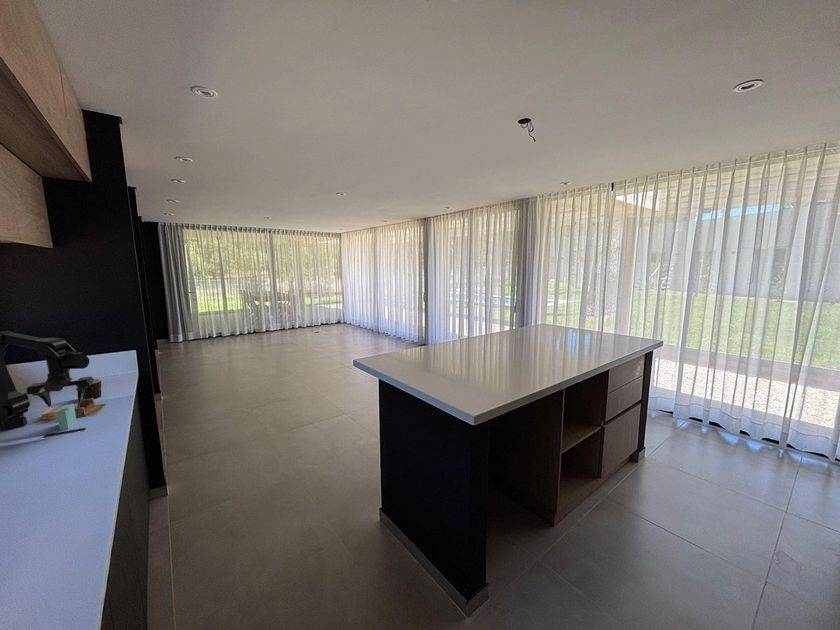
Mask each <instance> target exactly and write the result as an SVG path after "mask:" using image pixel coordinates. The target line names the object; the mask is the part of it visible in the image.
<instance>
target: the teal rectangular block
mask: <svg viewBox="0 0 840 630" xmlns="http://www.w3.org/2000/svg"><path fill="white" fill-rule="evenodd" d="M63 406H64V407H62V408H61V409H60V410H59V411H58V412H57V416H58V421H57V422H58V426H59V430H60V431H63V432H66V431H67V430H69V429H70V428H71V427H72V426H73V425H74V424H75V423H76V422H77V420H78V419H77V418H76V415H75V409H74V408H75V405H74V403H69V404H65V405H63Z"/></svg>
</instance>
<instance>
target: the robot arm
mask: <svg viewBox="0 0 840 630" xmlns="http://www.w3.org/2000/svg"><path fill="white" fill-rule="evenodd" d="M8 345H13V346H19V347H24V348H29V349H32V350H35V351H36V353H40V354H41V355H42V356H41V357H40V358H39V360H41V361H46V366H47V371H48V373H47V375H46V376H47V379H46V380H45V381H44V382H43V381H42V382H38V383H37V382H36V383H35V382H34V383H33V384H31V385H29V386H27V387H26V392H25V393H21V392H20V391H18V390H17V388H16V385H15V383H14V381H13V379H12V377H11V374H10V372H9V370H8V368H7V366H6V363H5V360H4V358H5V354H6V347H7V346H8ZM89 365H90V358H89V357H88V356H87V355H85V354H84V352H83V351H82V352H81V351H80V352H77V351H76V349H74V348H73V347H72V346H71V345H70V344H69V343H68V342H67V341H66V339H64V338H61V337H60V338H59V337H46V338H45V337H44V338H43V337H42V338H41V337H37V336H32V335H27V334H23V333H18V332H14V331H11V330H7V331H2V332H0V431H12V430H16V429H18V428H19V429H20V428H23V427H25V426H27V424H28V419H27V416H25V413H28V412H29V407H30V406H31V400H30V398H29V396H28V395H32V396H37V397H38V398H40V399H41V400H42V401H43V402H44V403H45V404H46V405H47V406H48V408H51V407H52V399H51V394H50V393H51V392H60V391H62V390H63V388H65V387H72V386H76V389H75V390H76V391H77V401H79V402H81V400H83V398H82V397H83V394H84V391H85V389H86V388H87V387H88V386H90V385H91V384H92V383H93V382H94V379H95V378H94V377H92V376H83V377H80V378H78V379H77V380H73V378H72V377H71V374H70V371H71V370H78V369H79V370H81V369H84V370H85V369H86V368H87V367H88V366H89Z"/></svg>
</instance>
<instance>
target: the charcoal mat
mask: <svg viewBox="0 0 840 630" xmlns="http://www.w3.org/2000/svg"><path fill="white" fill-rule="evenodd" d="M85 429H86V427H81V428H76V429H71V430H69V429H68V430H65V431H66V432H64V431H58V432H53V433H47V434H45V435H43V436H42V438H43V439H45V438H51V437H57V436H62V435H68V434H74V433H79V432H78V431H80V432H84V431H85Z"/></svg>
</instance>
